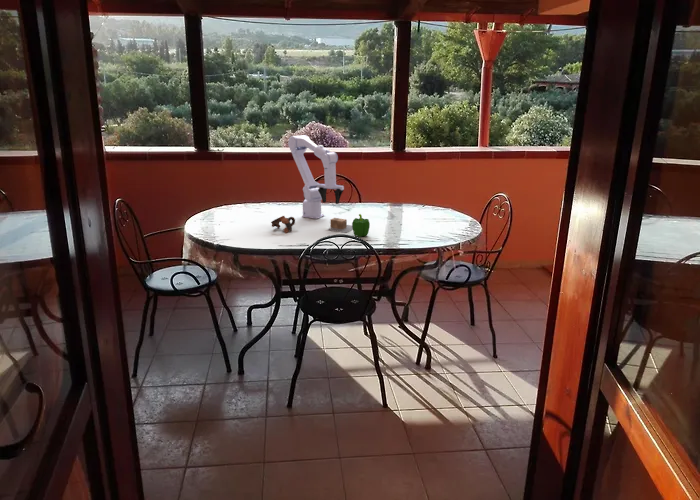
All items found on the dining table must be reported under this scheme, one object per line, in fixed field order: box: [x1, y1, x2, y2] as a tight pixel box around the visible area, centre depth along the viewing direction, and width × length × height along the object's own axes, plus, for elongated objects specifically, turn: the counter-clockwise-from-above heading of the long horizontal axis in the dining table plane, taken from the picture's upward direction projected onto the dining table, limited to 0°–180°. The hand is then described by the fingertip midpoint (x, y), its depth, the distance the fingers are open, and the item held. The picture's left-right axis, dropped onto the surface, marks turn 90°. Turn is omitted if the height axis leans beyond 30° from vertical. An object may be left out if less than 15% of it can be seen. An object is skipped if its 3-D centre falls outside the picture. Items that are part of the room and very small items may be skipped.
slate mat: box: [328, 224, 353, 234], centre depth 272 cm, size 10×12×1 cm
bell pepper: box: [351, 213, 371, 237], centre depth 259 cm, size 8×8×10 cm
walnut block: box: [329, 217, 348, 229], centre depth 272 cm, size 4×4×7 cm
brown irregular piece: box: [270, 215, 296, 234], centre depth 268 cm, size 12×10×8 cm
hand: (330, 202), depth 280 cm, fingers open, 7 cm apart
